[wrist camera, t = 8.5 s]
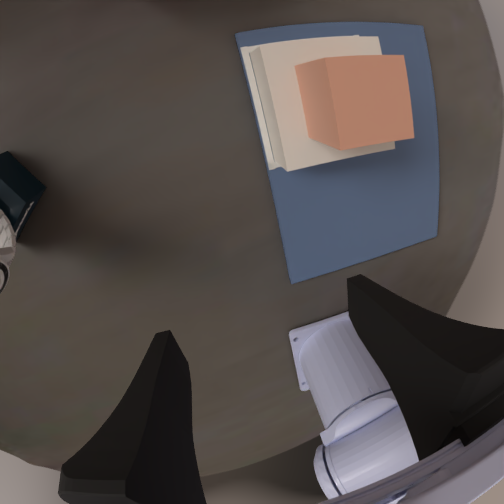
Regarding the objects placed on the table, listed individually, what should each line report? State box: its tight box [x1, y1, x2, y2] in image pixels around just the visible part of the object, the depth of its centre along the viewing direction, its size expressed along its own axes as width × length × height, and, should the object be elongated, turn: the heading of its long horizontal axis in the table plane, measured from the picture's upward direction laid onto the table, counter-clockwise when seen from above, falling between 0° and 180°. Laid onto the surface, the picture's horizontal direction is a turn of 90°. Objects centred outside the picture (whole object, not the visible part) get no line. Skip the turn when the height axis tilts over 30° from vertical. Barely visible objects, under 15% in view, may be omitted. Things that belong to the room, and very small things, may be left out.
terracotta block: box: [294, 55, 414, 151], centre depth 13 cm, size 4×4×4 cm
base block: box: [250, 36, 395, 172], centre depth 16 cm, size 7×7×3 cm
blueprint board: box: [235, 22, 439, 284], centre depth 20 cm, size 18×14×1 cm
